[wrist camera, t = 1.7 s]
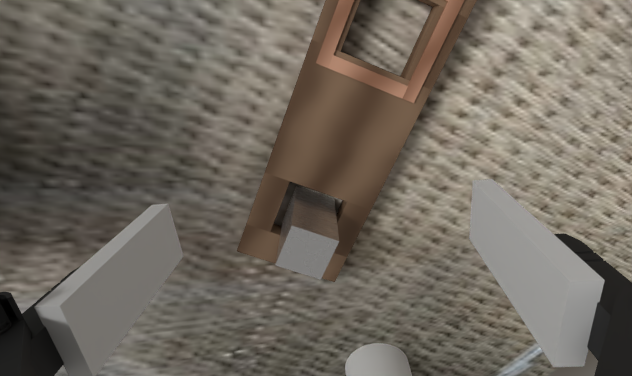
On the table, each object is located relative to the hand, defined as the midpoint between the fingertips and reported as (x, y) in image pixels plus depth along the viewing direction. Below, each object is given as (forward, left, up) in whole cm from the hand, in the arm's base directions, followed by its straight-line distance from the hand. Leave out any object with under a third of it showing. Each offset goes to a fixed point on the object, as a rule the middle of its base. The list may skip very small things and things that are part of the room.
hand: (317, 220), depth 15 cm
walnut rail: (+3, 0, -22) cm, 23 cm away
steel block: (+3, -10, -23) cm, 25 cm away
